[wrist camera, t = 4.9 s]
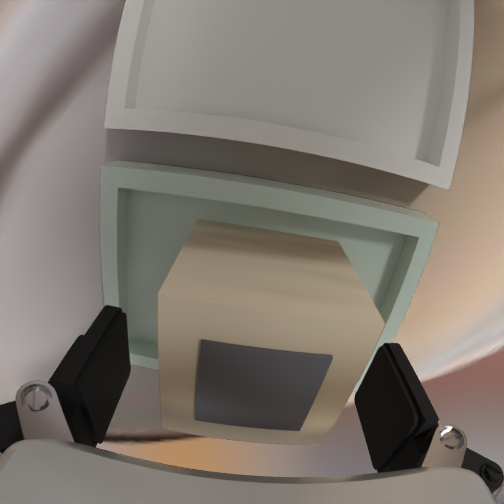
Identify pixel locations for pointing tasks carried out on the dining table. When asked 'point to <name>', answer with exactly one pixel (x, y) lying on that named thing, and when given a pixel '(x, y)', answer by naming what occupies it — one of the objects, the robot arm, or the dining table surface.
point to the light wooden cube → (261, 335)
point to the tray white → (302, 77)
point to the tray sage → (252, 215)
